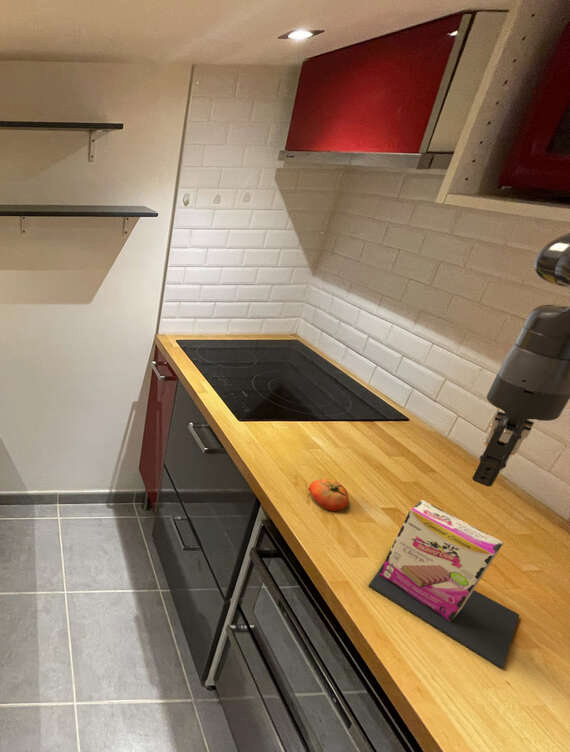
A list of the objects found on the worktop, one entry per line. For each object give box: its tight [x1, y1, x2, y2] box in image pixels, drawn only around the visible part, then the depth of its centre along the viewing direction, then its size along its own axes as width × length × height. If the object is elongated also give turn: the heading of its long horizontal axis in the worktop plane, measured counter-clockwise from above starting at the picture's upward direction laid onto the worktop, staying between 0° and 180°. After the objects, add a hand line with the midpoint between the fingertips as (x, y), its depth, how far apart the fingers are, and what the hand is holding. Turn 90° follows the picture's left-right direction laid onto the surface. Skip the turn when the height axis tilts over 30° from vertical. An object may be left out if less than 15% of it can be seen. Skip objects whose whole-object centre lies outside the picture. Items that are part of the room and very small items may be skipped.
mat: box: [368, 562, 520, 670], centre depth 79 cm, size 18×14×1 cm
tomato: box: [307, 478, 350, 512], centre depth 101 cm, size 8×7×7 cm
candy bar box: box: [379, 499, 504, 622], centre depth 76 cm, size 11×5×16 cm, turn 32°
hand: (487, 471), depth 69 cm, fingers open, 8 cm apart
